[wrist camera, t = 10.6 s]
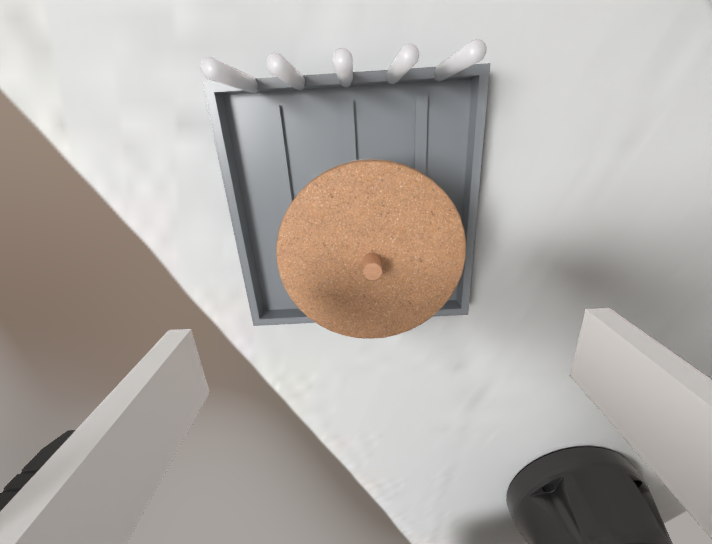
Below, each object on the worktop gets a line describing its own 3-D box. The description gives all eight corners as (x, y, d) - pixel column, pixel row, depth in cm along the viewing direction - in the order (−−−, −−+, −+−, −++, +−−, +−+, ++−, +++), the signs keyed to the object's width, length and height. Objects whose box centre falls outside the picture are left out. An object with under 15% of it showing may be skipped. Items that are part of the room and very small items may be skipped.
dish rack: (459, 300, 30) (498, 365, 22) (261, 310, 31) (226, 379, 22) (476, 66, 23) (545, 34, 15) (216, 83, 23) (142, 61, 15)
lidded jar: (419, 293, 28) (447, 366, 20) (292, 277, 28) (264, 344, 19) (451, 162, 24) (505, 182, 16) (302, 138, 24) (273, 146, 15)
